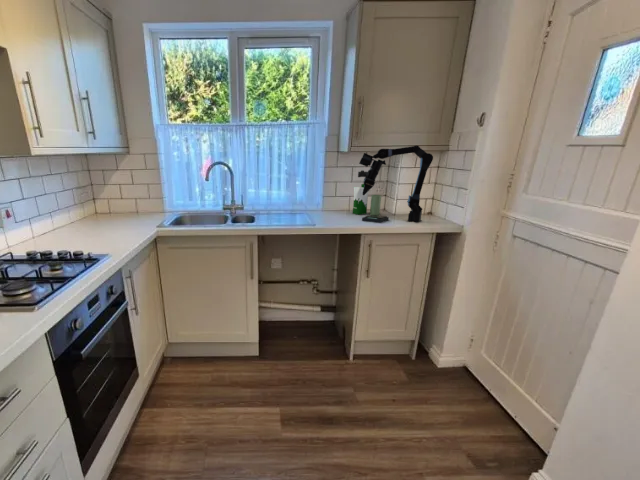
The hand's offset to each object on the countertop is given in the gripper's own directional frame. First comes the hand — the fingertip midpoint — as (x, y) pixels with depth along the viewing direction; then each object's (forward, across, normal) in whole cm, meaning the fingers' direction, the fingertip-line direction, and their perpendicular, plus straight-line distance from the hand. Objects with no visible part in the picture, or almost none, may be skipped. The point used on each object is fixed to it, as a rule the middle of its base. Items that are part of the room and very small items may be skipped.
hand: (363, 194), depth 226 cm
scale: (+12, +1, +14) cm, 18 cm away
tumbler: (+12, -23, +14) cm, 30 cm away
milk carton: (+16, -25, +5) cm, 30 cm away
